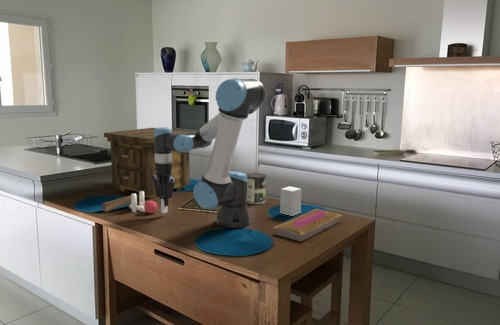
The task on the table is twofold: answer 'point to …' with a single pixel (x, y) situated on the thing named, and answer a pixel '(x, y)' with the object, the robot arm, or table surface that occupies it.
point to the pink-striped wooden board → (307, 219)
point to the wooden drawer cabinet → (142, 161)
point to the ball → (150, 206)
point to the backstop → (116, 203)
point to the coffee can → (256, 188)
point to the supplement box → (290, 201)
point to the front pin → (138, 208)
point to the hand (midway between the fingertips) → (164, 212)
